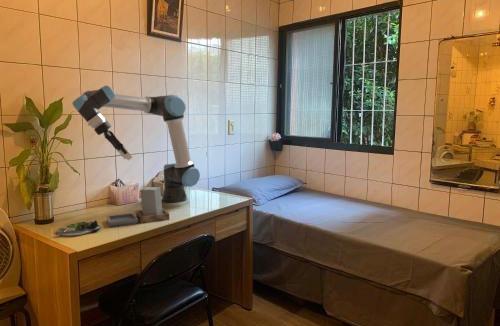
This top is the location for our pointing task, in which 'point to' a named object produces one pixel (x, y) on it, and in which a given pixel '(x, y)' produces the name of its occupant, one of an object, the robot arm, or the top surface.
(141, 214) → the square wooden tray
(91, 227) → the salad plate
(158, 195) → the skincare box
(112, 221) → the tray
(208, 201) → the top surface
